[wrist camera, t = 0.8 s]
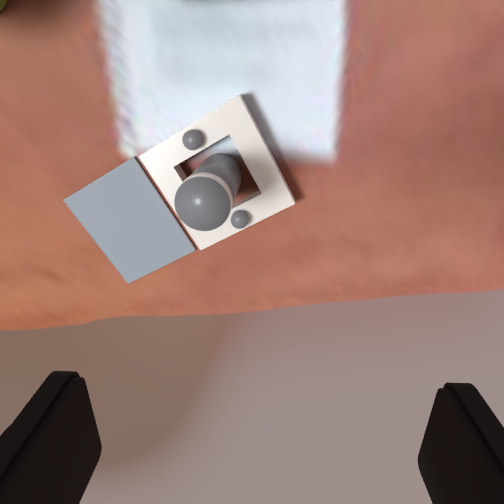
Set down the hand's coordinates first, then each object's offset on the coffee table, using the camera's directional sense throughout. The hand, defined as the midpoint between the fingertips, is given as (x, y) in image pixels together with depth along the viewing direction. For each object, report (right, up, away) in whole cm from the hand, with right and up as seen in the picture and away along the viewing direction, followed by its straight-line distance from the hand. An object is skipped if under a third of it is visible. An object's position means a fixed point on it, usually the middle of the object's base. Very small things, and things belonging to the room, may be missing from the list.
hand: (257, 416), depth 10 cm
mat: (-14, +7, +31) cm, 35 cm away
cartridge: (-3, +12, +28) cm, 31 cm away
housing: (-3, +12, +28) cm, 31 cm away
